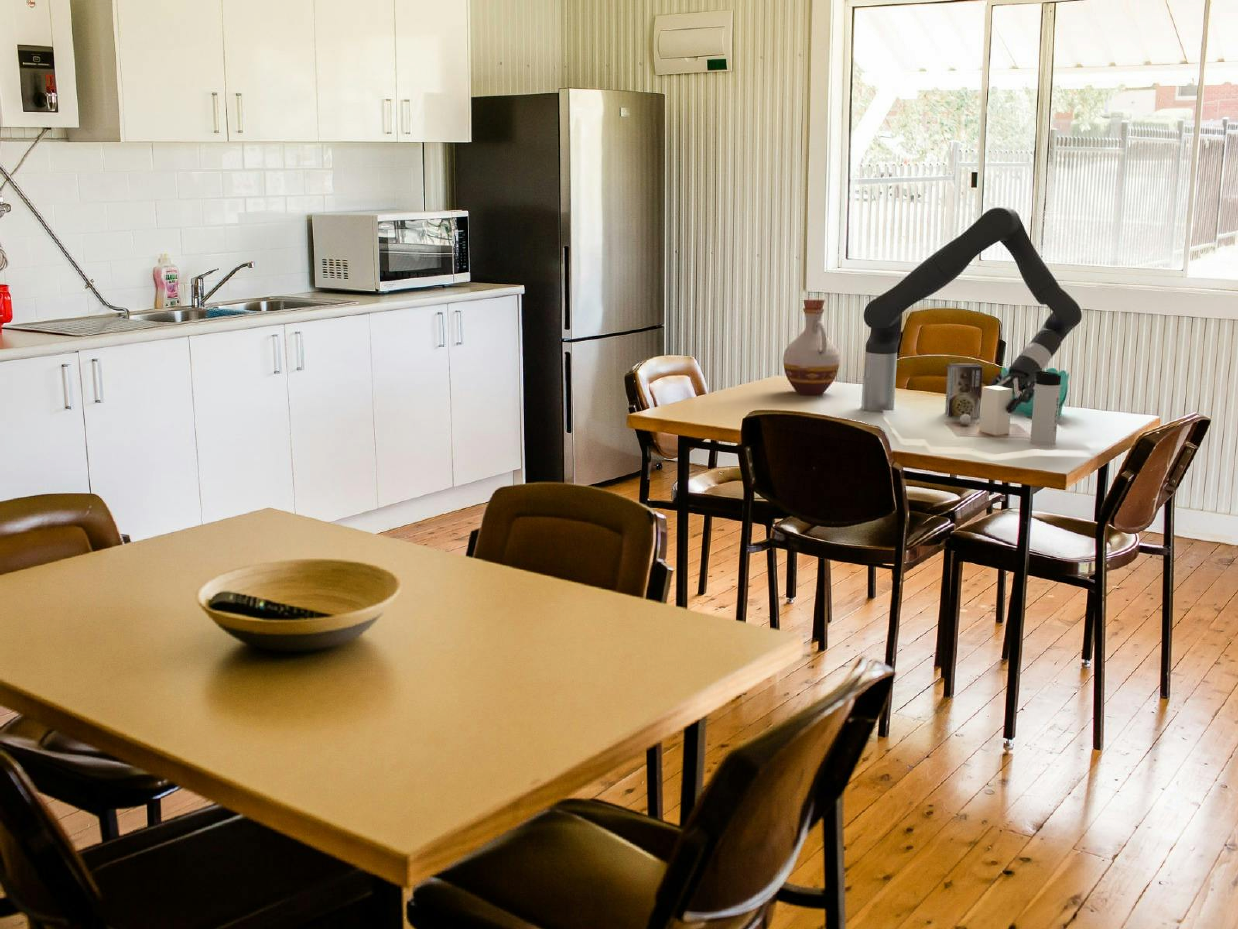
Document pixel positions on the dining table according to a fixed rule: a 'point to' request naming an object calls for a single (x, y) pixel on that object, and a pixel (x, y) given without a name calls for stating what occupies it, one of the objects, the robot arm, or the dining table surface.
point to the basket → (1028, 407)
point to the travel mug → (1045, 407)
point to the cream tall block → (995, 410)
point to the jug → (811, 355)
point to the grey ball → (965, 419)
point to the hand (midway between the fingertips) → (996, 408)
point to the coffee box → (963, 389)
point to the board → (973, 431)
